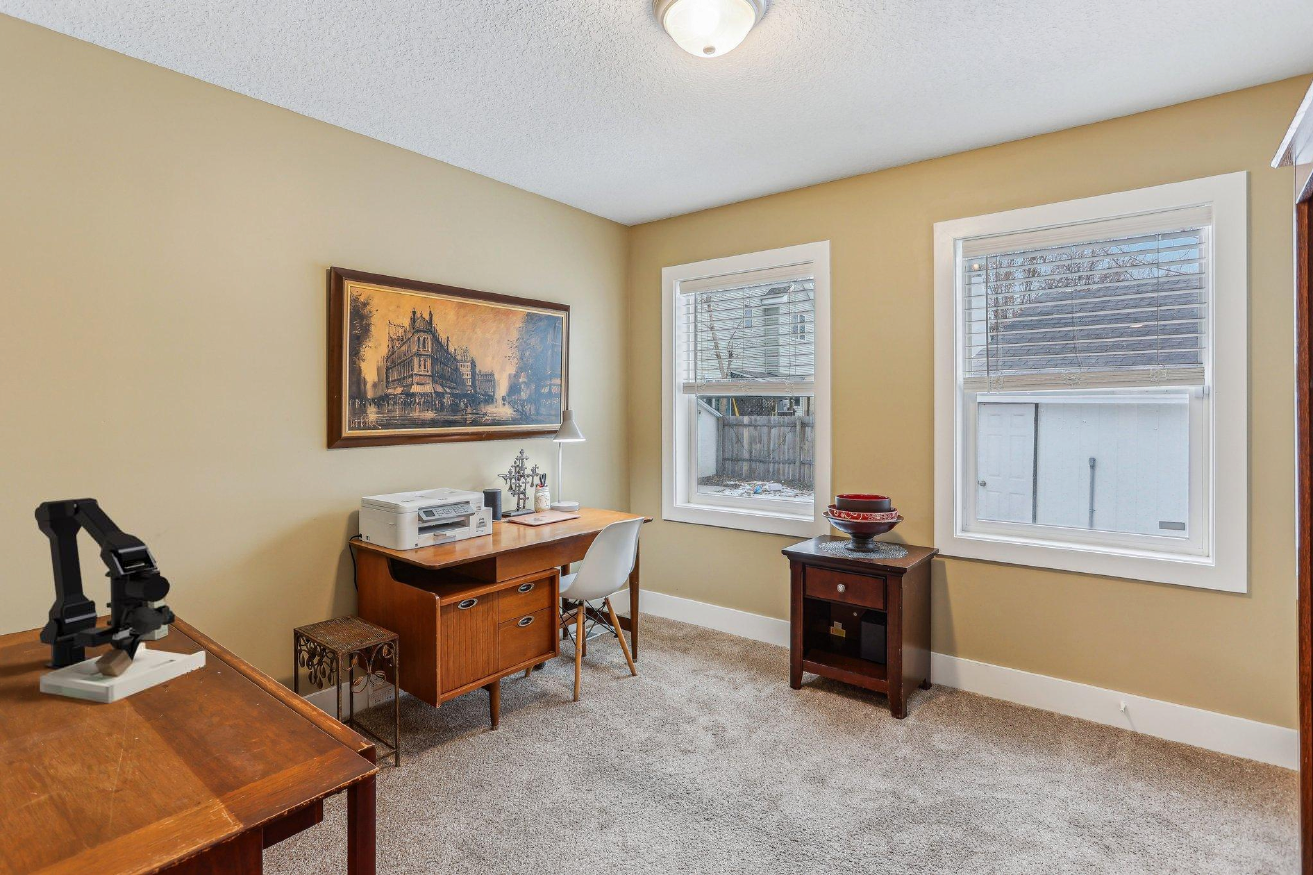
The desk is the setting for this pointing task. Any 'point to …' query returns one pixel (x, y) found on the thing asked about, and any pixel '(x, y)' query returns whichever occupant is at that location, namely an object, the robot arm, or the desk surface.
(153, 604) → the skincare box
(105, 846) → the desk surface
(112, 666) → the block
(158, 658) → the platform
